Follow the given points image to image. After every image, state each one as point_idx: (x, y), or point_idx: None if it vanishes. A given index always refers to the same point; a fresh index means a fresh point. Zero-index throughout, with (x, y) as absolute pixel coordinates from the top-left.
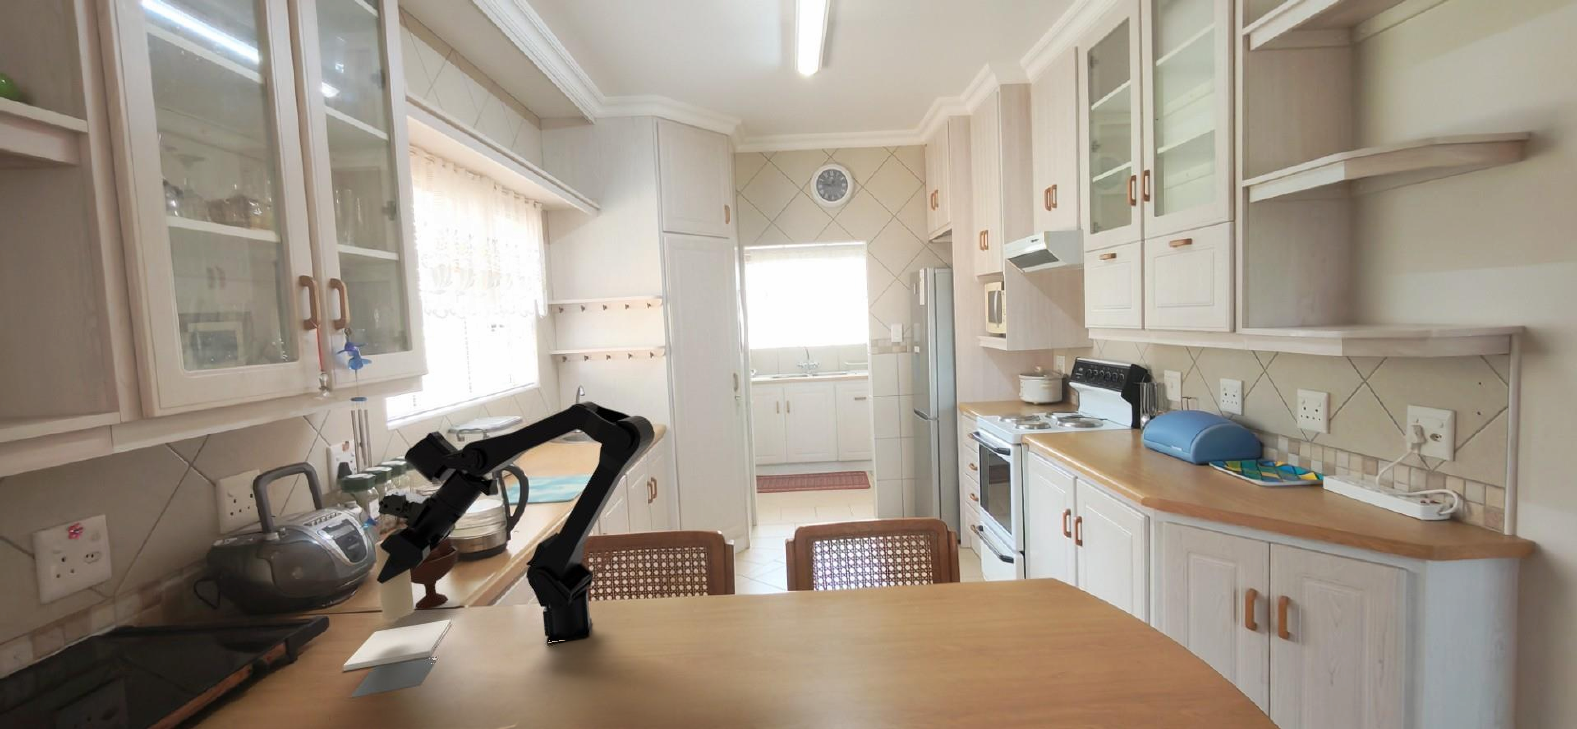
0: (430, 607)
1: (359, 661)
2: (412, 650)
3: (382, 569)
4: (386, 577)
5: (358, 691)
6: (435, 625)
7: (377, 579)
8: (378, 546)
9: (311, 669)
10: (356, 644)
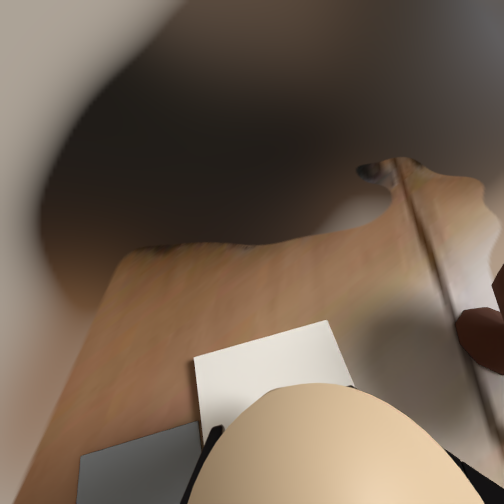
0: (470, 353)
1: (203, 381)
2: None
3: (181, 501)
4: None
5: (99, 460)
6: None
7: (211, 432)
8: (190, 501)
9: (220, 290)
10: (299, 303)
